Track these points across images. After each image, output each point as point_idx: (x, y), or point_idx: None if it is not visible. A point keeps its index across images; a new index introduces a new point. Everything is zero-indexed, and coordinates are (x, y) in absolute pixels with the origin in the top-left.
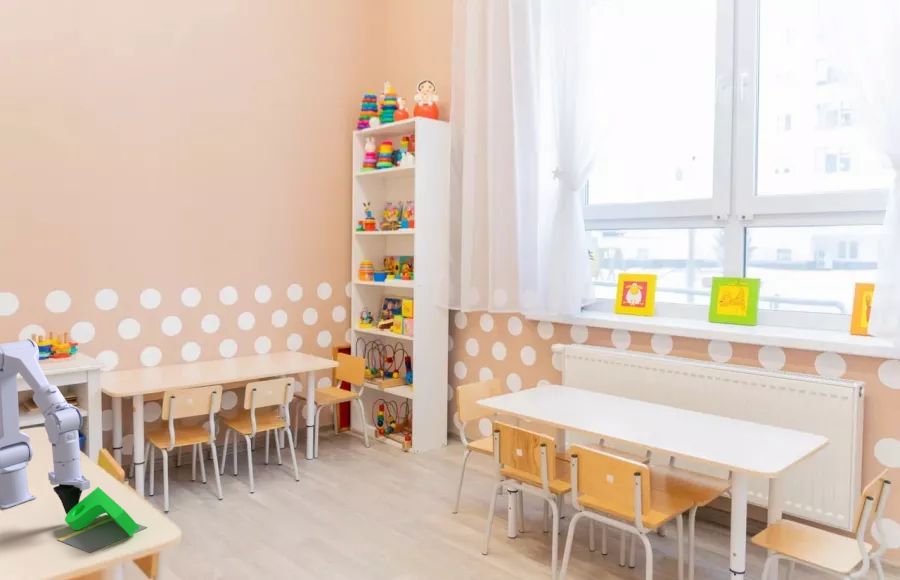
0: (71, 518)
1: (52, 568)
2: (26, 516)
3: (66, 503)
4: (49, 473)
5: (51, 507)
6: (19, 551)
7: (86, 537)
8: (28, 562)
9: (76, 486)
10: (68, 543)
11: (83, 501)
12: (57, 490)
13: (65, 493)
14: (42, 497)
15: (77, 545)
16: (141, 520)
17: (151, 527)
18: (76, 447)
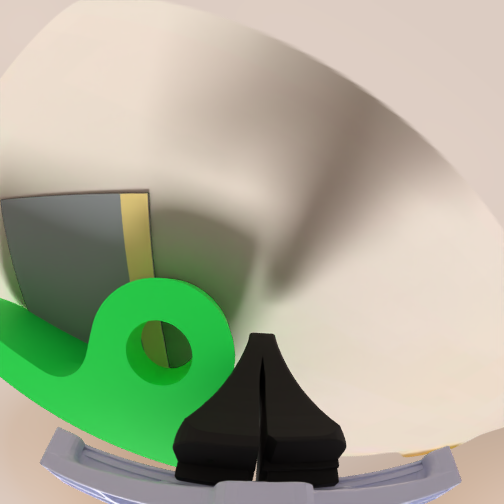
0: (151, 302)
1: (3, 93)
2: (474, 276)
3: (234, 372)
4: (447, 487)
5: (443, 346)
6: (193, 50)
7: (79, 257)
8: (76, 47)
9: (146, 468)
10: (79, 196)
11: (194, 404)
12: (268, 435)
13: (184, 422)
14: (493, 355)
15: (48, 204)
16: None
17: None
18: None
